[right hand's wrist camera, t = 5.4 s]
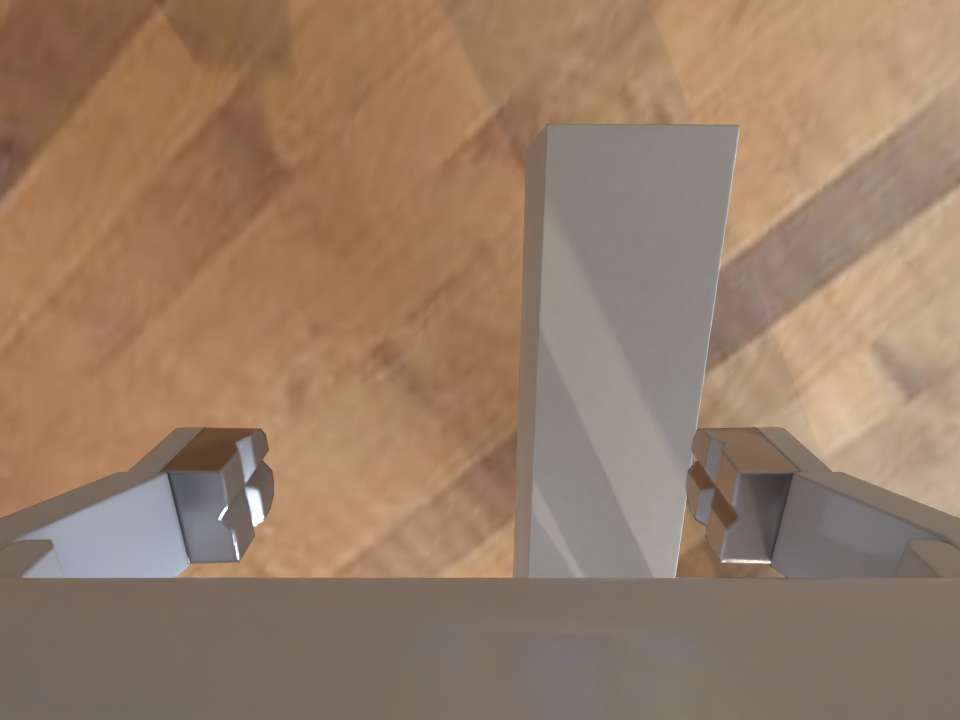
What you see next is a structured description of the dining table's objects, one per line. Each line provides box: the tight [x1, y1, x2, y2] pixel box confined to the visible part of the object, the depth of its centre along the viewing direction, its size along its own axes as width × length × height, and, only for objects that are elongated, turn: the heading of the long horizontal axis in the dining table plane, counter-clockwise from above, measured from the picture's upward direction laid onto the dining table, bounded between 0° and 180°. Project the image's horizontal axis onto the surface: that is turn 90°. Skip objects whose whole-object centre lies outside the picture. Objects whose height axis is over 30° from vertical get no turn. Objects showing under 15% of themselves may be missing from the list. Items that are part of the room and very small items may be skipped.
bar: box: [513, 124, 740, 578], centre depth 22 cm, size 27×5×8 cm, turn 0°
